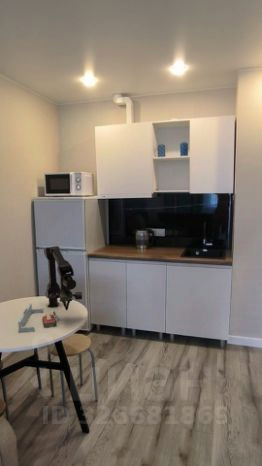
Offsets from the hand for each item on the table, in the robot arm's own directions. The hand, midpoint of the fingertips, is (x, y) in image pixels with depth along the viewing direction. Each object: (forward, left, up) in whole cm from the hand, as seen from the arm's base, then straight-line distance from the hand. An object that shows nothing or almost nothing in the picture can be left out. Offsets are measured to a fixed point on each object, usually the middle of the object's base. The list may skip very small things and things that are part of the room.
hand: (66, 310), depth 187 cm
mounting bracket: (0, -20, -6) cm, 21 cm away
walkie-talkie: (0, -10, -6) cm, 12 cm away
